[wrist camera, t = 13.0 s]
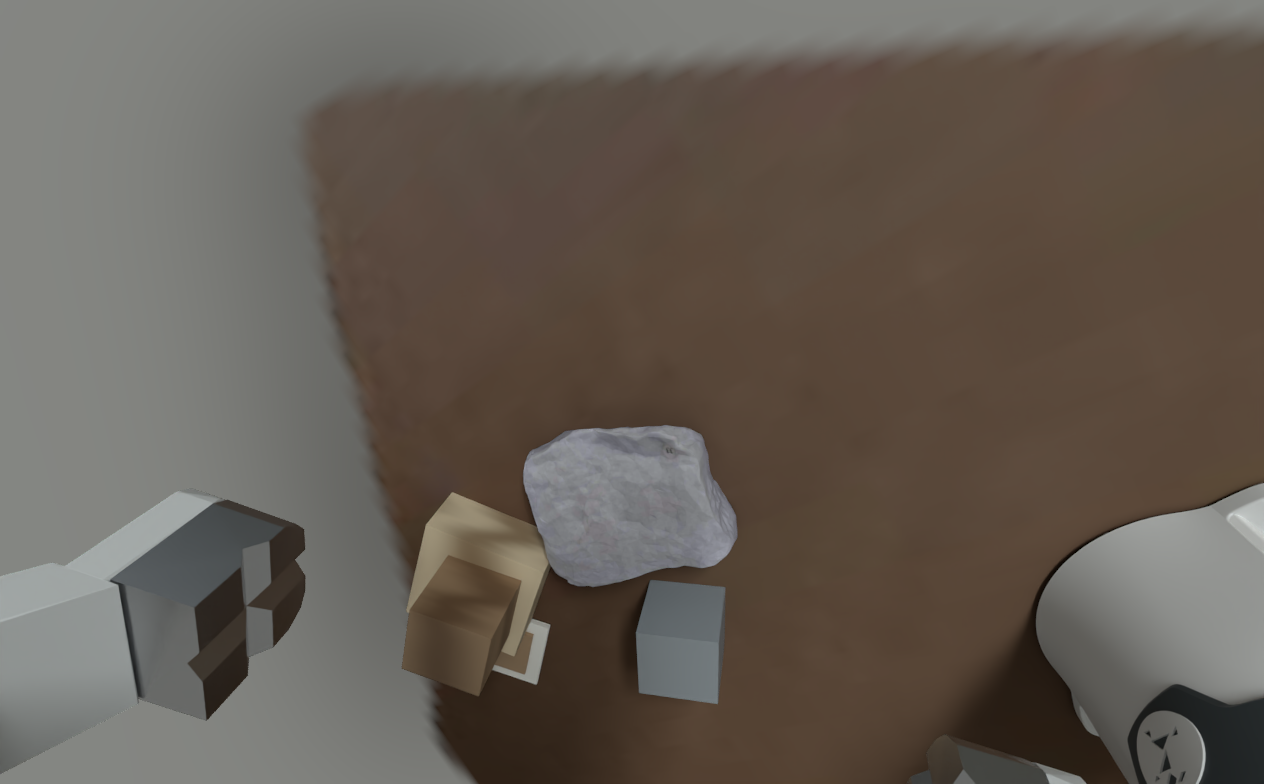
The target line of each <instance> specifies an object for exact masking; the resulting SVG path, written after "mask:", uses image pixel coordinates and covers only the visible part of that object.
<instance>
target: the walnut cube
mask: <svg viewBox="0 0 1264 784" xmlns="http://www.w3.org/2000/svg"><path fill="white" fill-rule="evenodd" d="M520 586H521V580H518V579H515V578H513V577H510V576H507V575H504V574H501V573H498V572H495V571H493V570H490V569H487V568H484V567H481V566H478V565H475V564H473V563H470V562H467V561H464V560H461V559H458V558H455V557H453V556H450V555H448V556H447V557H446V559H445V560H444V562H443V563H442V564H441V566H440V567H439V569H438V570H437V572H436V573H435V574H434V576H433V577H432V579H431V580H430V581H429V583H428V584H427V586H426V587H425V589H424V590H423V591H422V593H421V594H420V596H419V597H418V598H417V600H416V601H415V603H414V604H413V606H412V607H411V608H410V610H409V618H408V625H407V633H406V640H405V647H404V655H403V662H402V669H404V670H407V671H410V672H413V673H416V674H418V675H421V676H424V677H426V678H429V679H432V680H435V681H437V682H440V683H443V684H446V685H448V686H451V687H454V688H457V689H459V690H462V691H465V692H468V693H470V694H473V695H476V696H479V695H480V693H481V691H482V689H483V687H484V685H485V683H486V681H487V679H488V677H489V675H490V673H491V671H492V669H493V667H494V665H495V663H496V661H497V659H498V657H499V654H500V652H501V650H502V648H503V646H504V644H505V642H506V640H507V638H508V636H509V633H510V629H511V624H512V620H513V616H514V611H515V607H516V603H517V599H518V594H519V590H520Z"/></svg>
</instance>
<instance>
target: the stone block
mask: <svg viewBox="0 0 1264 784" xmlns="http://www.w3.org/2000/svg"><path fill="white" fill-rule="evenodd" d="M708 460H709V459H708V453H707V450H706V447H705V444H704V439H703V437H702V436H701V434H699V433H697V432H695V431H694V430H691V429H689V428H685V427H675V426H668V425H663V426H646V427H638V428H629V427H625V428H623V427H620V428H614V429H601V428H593V429H578V430H570V431H565V432H563V433H562V434H561V435H559V436H558V437H556V438H555V439H554V440H552V441H551V442H549V443H547V444H544V445H542V446H539V447H538V448H537V449H533V450H532V451H530V452H529V454H528V456H527V459H526V462H525V466H524V471H523V478H524V486H525V490H526V493H527V495H528V499H529V502H530V505H531V508H532V512H533V516H534V519H535V522H536V525H537V528H538V531H539V533H540V534H541V536H542V538H543V540H544V545H545V550H546V554H547V558H548V561H549V564H550V565H551V567H552V568H553V570H554V571H555V573H556V574H558V575H559V576H560V577H563V578H565V579H567V580H568V583H570V584H574V585H576V586H591V587H596V586H602V585H607V584H611V583H616V582H621V581H624V580H628V579H632V578H635V577H638V576H641V575H643V574H646V573H648V572H652V571H655V570H659V569H663V568H677V567H681V566H684V565H685V566H692V567H698V568H706V567H709V566H713V565H716V564H717V563H718V562H720V561H721V560H722V559H723V558H725V557H726V556H727V555H728V553H729V552H730V550H731V548H732V546H733V544H734V542H735V540H736V539H737V524H736V515H735V513H734V511H733V509H732V507H731V505H730V504H729V502H728V501H727V498H726V496H725V495H724V494H723V493H722V491H721V489H720V487H719V485H718V484H717V482H716V481H715V480H713V478H712V475H711V473H710V468H709V462H708Z"/></svg>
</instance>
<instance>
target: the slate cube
mask: <svg viewBox="0 0 1264 784" xmlns="http://www.w3.org/2000/svg"><path fill="white" fill-rule="evenodd" d="M724 635H725V587H716V586H707V585H697V584H687V583H677V582H667V581H658V580H650V583H649V587H648V590H647V594H646V598H645V601H644V605H643V609H642V612H641V616H640V620H639V623H638V627H637V631H636V644H637V663H638V682H639V693H643V694H650V695H657V696H665V697H672V698H679V699H686V700H693V701H701V702H708V703H715V704H718V698H719V689H720V680H721V671H722V662H723V652H724Z"/></svg>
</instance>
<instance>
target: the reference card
mask: <svg viewBox="0 0 1264 784" xmlns="http://www.w3.org/2000/svg"><path fill="white" fill-rule="evenodd" d="M549 630H550V624H547V623H544V622H541V621H538V620H535V619H532V620H531V622H530V624H529V626H528V628H527V630H526V633H525V635H524V637H523V639H522V641H521V643H520V645H519V648H518V650H517V652H516V654H515V656H511V655H509V654H507V653H504V652H502V651H501V652H500V654H499V657H498V659H497V661H496V663H495V665H494V667H493V669H492V670H494V671H497V672H500V673H503V674H506V675H509V676H512V677H515V678H518V679H521V680H524V681H527V682H530V683H533V684H536V685H537V682H538V679H539V675H540V670H541V666H542V661H543V657H544V652H545V648H546V643H547V639H548V634H549Z"/></svg>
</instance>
